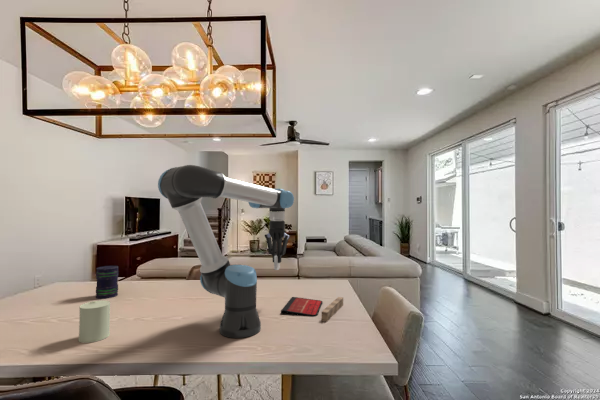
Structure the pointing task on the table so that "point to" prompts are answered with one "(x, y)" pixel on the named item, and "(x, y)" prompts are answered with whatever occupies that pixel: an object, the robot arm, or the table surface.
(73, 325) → the table surface
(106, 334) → the can
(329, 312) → the rail
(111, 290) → the storage jar
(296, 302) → the binder
